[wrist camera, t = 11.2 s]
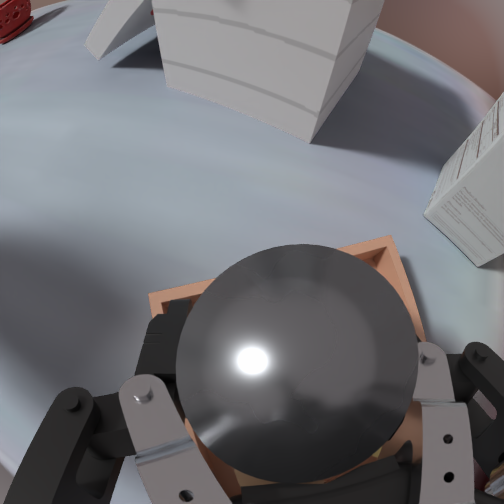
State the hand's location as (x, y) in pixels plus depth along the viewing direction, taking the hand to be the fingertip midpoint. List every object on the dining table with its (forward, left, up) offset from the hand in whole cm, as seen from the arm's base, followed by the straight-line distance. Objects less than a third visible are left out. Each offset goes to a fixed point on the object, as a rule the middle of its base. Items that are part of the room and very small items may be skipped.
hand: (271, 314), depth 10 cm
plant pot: (-43, +78, -7) cm, 89 cm away
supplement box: (+20, +4, -7) cm, 21 cm away
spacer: (0, -2, -5) cm, 6 cm away
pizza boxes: (+4, +27, -7) cm, 28 cm away
